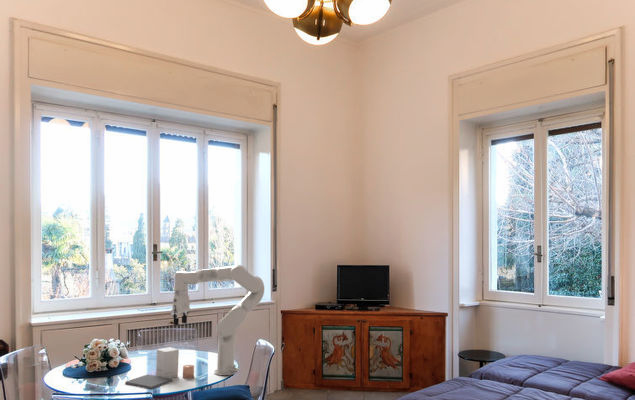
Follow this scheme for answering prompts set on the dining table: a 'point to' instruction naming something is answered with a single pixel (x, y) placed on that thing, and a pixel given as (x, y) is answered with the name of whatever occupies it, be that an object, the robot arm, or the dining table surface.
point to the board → (149, 381)
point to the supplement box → (167, 362)
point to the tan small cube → (188, 371)
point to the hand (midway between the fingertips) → (180, 323)
